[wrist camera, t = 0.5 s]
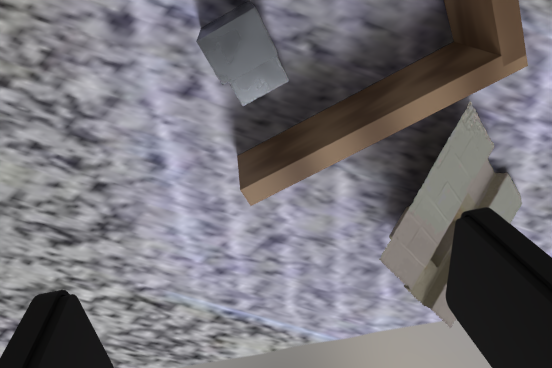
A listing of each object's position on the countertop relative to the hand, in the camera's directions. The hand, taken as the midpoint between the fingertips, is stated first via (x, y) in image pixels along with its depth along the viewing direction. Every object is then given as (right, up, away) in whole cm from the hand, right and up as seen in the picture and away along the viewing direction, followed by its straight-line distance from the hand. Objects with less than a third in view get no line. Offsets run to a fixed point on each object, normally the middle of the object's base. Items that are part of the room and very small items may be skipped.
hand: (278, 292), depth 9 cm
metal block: (-2, +13, +20) cm, 24 cm away
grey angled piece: (+16, +2, +29) cm, 33 cm away
